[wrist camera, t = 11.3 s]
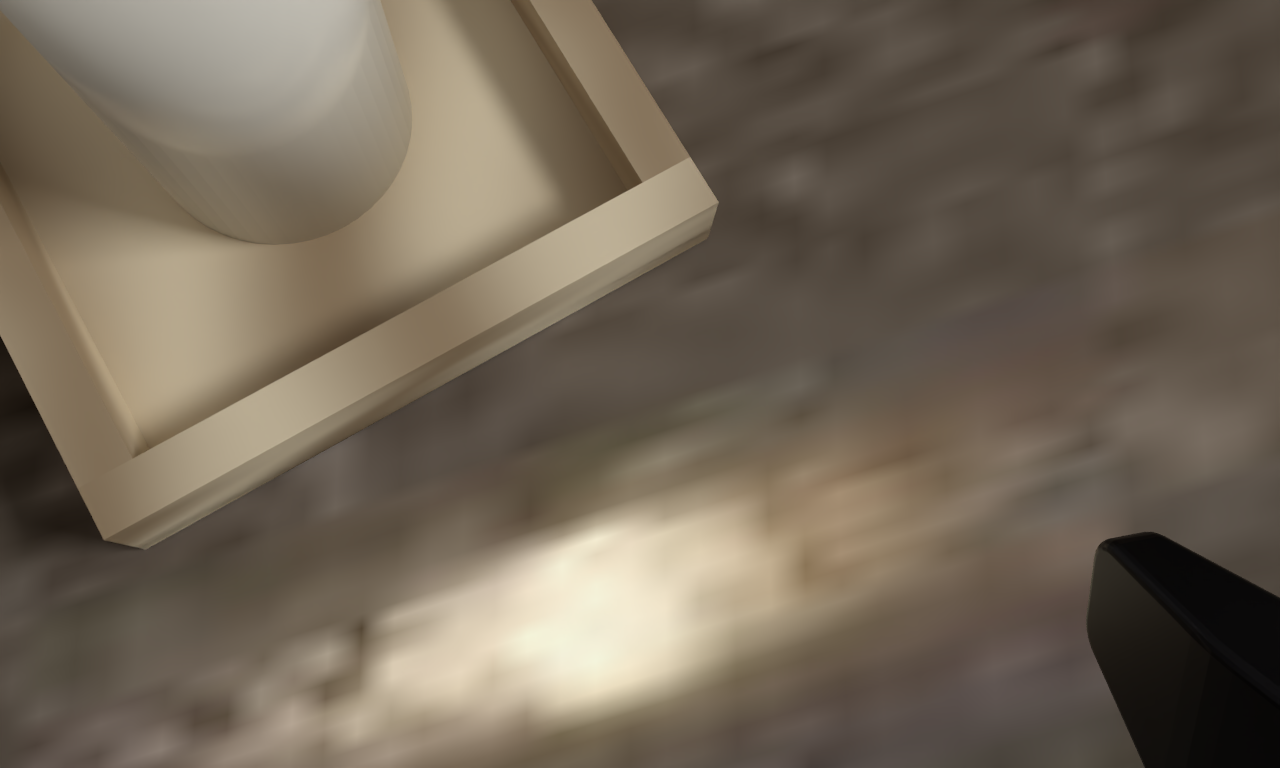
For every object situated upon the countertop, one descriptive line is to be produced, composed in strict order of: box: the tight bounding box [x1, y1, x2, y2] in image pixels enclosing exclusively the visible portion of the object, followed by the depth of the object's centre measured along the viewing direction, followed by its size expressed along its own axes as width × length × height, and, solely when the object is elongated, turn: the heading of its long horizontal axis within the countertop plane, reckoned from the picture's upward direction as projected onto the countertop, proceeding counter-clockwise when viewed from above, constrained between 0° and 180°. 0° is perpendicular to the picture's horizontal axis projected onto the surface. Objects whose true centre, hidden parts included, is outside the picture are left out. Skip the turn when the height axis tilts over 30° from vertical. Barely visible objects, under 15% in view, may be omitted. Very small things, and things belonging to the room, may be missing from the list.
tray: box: [0, 0, 719, 549], centre depth 23 cm, size 12×12×2 cm
